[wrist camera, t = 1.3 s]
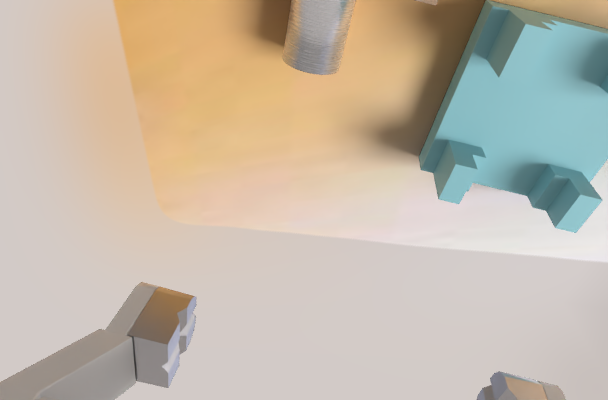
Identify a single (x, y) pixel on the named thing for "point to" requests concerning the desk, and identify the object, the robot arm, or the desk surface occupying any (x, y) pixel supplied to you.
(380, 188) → the desk surface
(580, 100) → the teal cradle
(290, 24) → the steel axle
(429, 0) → the wooden bridge block
